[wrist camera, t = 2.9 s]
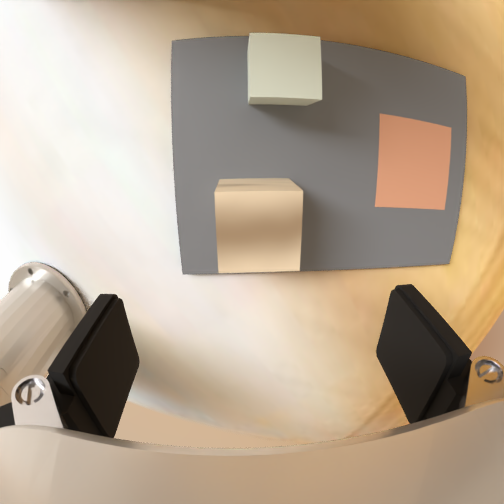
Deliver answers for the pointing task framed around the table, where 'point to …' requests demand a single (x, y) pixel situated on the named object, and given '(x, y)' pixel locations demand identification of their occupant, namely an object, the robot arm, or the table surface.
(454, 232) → the board
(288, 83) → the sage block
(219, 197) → the maple block
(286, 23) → the table surface
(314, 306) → the table surface
